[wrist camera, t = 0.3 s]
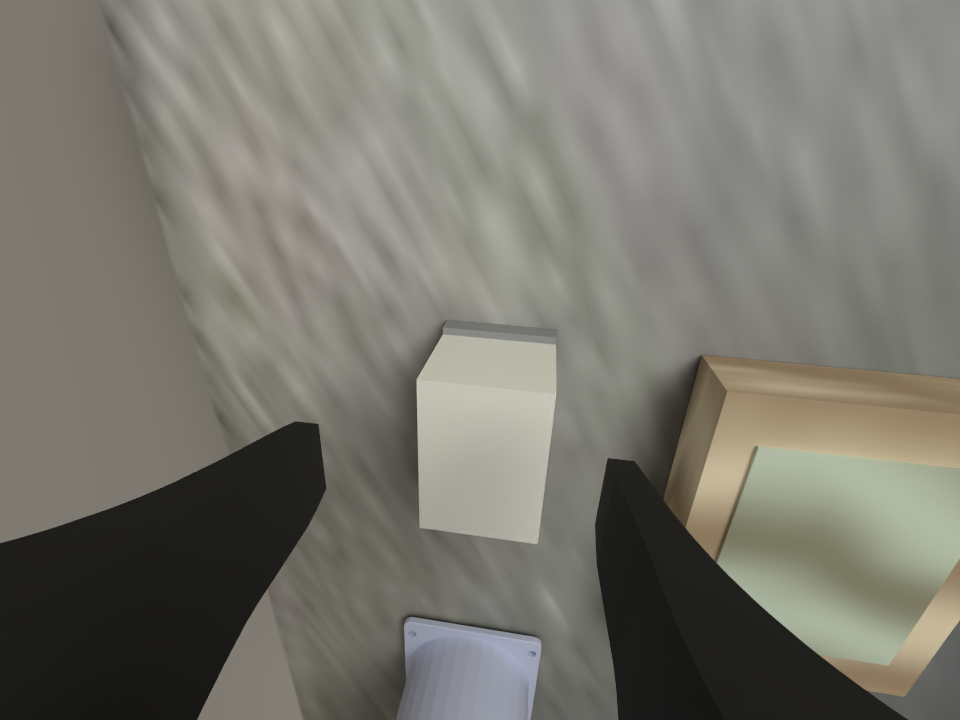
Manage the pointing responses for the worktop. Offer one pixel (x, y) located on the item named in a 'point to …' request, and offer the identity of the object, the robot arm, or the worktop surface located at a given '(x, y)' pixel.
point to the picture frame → (830, 505)
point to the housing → (486, 429)
